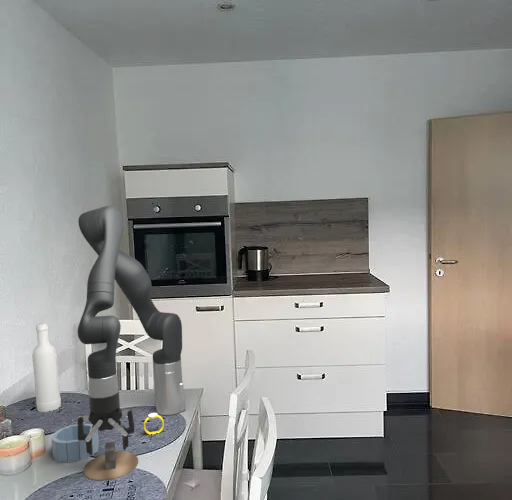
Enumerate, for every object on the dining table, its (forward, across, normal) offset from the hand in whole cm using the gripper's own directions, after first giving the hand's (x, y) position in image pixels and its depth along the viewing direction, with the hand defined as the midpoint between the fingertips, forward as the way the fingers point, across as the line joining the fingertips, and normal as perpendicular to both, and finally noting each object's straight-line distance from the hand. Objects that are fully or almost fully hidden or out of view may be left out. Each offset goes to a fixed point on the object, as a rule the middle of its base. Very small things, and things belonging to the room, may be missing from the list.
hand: (108, 451), depth 131 cm
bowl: (+4, +10, -12) cm, 16 cm away
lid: (+5, 0, 0) cm, 5 cm away
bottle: (+4, +23, -50) cm, 55 cm away
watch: (+4, -12, -16) cm, 21 cm away
